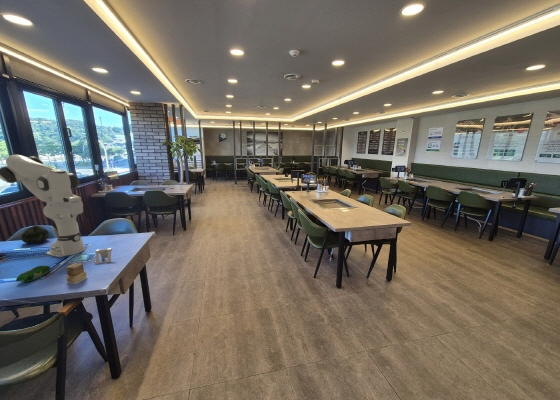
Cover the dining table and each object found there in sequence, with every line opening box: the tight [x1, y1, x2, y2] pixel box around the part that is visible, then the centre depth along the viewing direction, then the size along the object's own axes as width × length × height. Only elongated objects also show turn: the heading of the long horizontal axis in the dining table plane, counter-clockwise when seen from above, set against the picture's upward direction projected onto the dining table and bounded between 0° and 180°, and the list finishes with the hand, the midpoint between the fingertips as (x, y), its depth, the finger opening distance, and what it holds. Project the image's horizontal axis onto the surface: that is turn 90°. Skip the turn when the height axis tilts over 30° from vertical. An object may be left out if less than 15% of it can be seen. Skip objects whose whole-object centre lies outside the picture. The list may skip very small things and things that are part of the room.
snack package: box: [15, 265, 51, 283], centre depth 131 cm, size 7×16×5 cm, turn 1°
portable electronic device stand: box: [93, 248, 113, 265], centre depth 152 cm, size 9×8×8 cm
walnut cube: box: [65, 262, 85, 276], centre depth 128 cm, size 5×5×5 cm
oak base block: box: [65, 270, 88, 284], centre depth 129 cm, size 6×6×4 cm
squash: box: [20, 225, 50, 244], centre depth 180 cm, size 14×15×15 cm
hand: (66, 220), depth 133 cm, fingers open, 8 cm apart
